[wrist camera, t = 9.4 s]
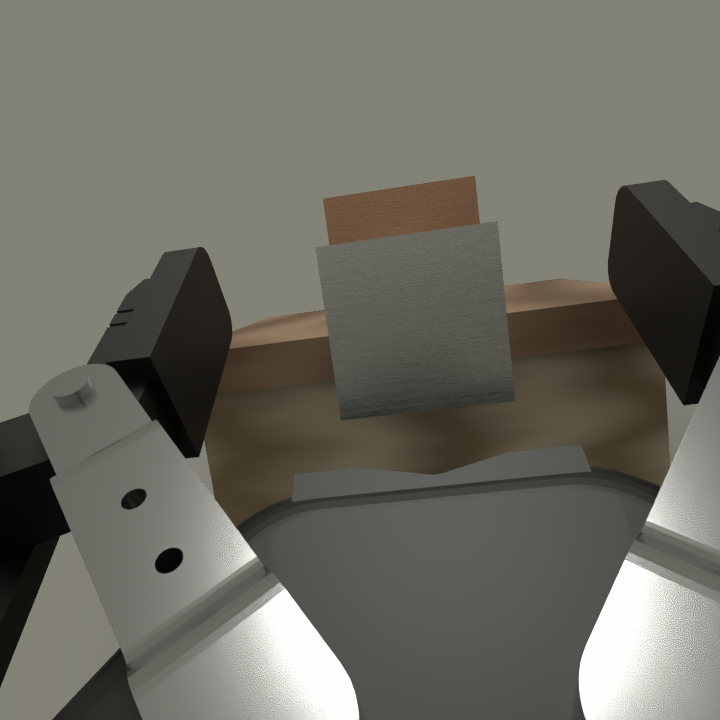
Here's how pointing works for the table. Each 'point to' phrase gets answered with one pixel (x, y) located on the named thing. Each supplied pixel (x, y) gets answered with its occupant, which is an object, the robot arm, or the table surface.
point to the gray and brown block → (414, 301)
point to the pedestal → (445, 426)
